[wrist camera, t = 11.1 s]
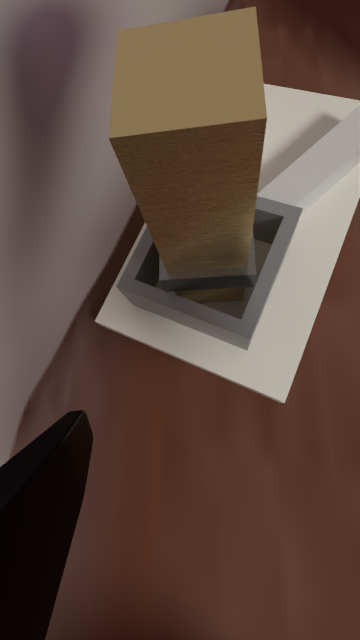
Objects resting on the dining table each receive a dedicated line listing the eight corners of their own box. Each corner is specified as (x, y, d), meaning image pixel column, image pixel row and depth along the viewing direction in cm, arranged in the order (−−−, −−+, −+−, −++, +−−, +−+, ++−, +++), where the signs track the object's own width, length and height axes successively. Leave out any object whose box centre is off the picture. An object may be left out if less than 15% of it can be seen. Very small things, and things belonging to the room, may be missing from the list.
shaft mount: (386, 121, 23) (421, 56, 19) (283, 404, 19) (298, 402, 15) (220, 90, 27) (217, 28, 22) (101, 325, 22) (70, 306, 18)
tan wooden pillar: (245, 238, 21) (269, -6, 9) (250, 306, 20) (285, 129, 7) (174, 243, 22) (105, 23, 10) (174, 309, 20) (93, 152, 8)
